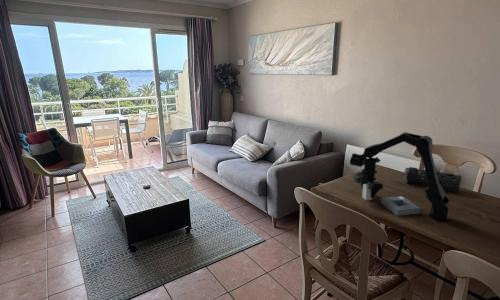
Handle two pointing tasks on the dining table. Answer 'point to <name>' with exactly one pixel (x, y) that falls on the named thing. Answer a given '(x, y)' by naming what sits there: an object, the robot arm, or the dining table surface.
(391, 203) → the socket plate
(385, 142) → the robot arm
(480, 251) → the dining table surface
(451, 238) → the dining table surface
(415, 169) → the muzzle brake
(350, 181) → the dining table surface
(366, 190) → the block
